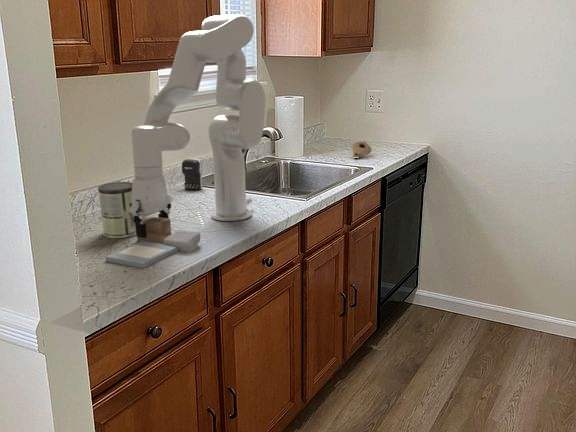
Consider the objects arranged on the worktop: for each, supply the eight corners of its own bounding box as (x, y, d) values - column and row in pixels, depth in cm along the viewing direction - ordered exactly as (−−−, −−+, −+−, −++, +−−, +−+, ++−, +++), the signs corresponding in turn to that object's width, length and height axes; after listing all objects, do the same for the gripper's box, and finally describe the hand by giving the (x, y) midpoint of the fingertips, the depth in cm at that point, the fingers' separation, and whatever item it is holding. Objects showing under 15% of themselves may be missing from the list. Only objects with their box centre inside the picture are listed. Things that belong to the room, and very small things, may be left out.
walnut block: (149, 235, 172) (147, 215, 170) (171, 239, 168) (170, 218, 166) (137, 240, 167) (135, 220, 166) (160, 244, 164) (158, 223, 162)
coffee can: (108, 228, 179) (103, 182, 175) (142, 227, 179) (138, 181, 175) (98, 239, 169) (93, 190, 165) (135, 238, 169) (131, 189, 166)
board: (142, 244, 163) (142, 240, 163) (178, 250, 158) (178, 246, 158) (106, 261, 151) (105, 256, 151) (143, 268, 146) (142, 263, 146)
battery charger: (181, 190, 225) (179, 159, 222) (187, 187, 228) (185, 158, 225) (198, 191, 222) (196, 161, 219) (203, 189, 226) (201, 159, 222)
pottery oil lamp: (345, 158, 279) (345, 143, 278) (357, 154, 289) (357, 140, 287) (362, 160, 275) (362, 145, 273) (373, 156, 284) (374, 141, 282)
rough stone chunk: (168, 259, 163) (157, 241, 161) (182, 246, 168) (172, 228, 166) (193, 255, 157) (182, 236, 155) (207, 242, 161) (197, 223, 160)
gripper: (158, 165, 171) (162, 223, 176) (115, 176, 157) (121, 239, 161) (179, 167, 168) (183, 226, 173) (138, 179, 153) (143, 243, 158)
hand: (153, 232), depth 167 cm, fingers open, 9 cm apart
